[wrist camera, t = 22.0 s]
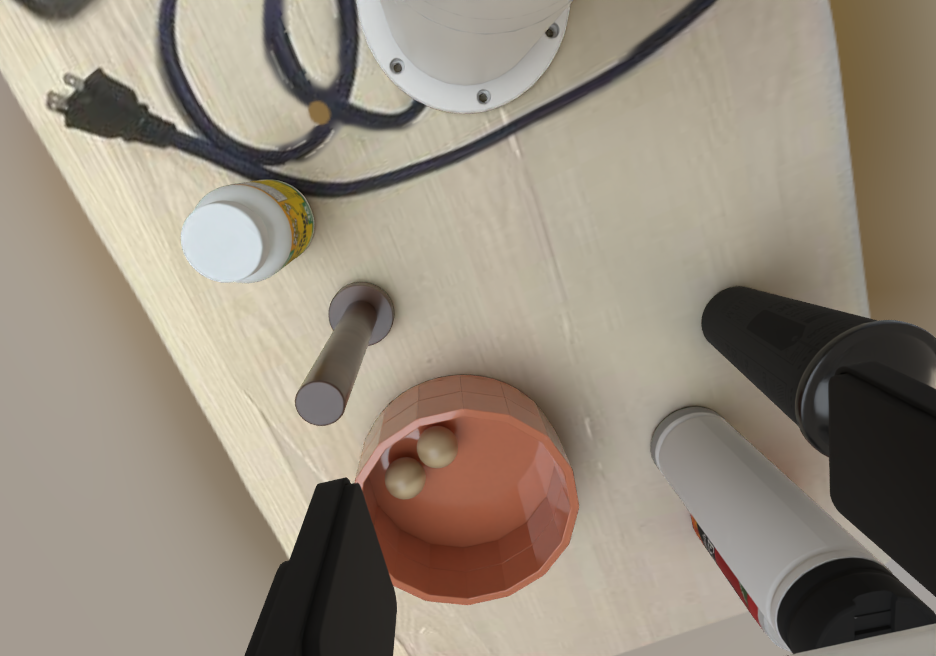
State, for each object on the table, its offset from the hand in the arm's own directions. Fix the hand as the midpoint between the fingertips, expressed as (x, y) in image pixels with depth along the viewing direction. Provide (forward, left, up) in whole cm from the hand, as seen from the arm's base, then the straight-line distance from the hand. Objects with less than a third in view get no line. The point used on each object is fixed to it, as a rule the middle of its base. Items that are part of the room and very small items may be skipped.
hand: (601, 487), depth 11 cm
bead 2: (+13, -6, -26) cm, 30 cm away
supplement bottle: (-5, -13, -28) cm, 32 cm away
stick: (+2, -9, -28) cm, 30 cm away
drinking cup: (+9, +17, -28) cm, 34 cm away
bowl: (+16, -5, -28) cm, 33 cm away
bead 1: (+15, -9, -26) cm, 31 cm away
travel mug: (+18, +13, -28) cm, 36 cm away
